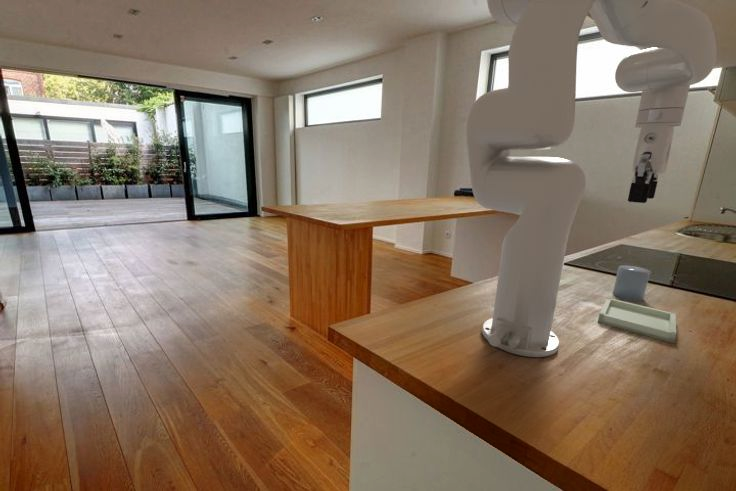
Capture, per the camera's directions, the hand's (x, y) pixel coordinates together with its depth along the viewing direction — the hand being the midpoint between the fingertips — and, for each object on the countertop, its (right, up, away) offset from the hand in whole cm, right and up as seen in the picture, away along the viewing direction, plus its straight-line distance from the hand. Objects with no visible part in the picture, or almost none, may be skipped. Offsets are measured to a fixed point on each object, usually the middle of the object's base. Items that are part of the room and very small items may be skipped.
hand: (641, 200), depth 76 cm
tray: (-7, -26, -7) cm, 28 cm away
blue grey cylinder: (+2, -23, +6) cm, 24 cm away
